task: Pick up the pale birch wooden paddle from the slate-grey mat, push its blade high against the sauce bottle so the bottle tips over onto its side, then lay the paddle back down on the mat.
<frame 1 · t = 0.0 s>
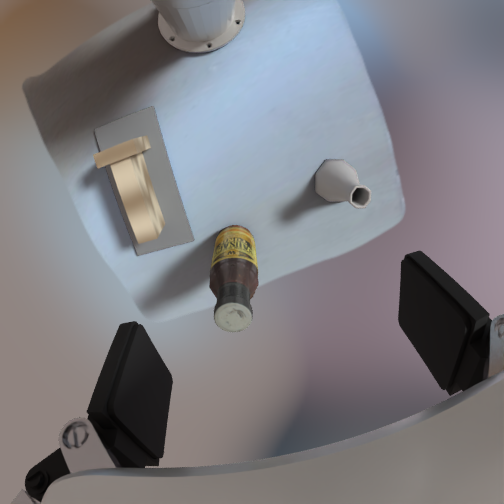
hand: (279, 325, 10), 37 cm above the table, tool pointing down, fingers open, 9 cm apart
flask: (335, 180, 45), on the table
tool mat: (143, 183, 43), on the table
sauce bottle: (233, 240, 49), on the table
wooden paddle: (142, 184, 43), point 1 cm above the table, touching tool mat
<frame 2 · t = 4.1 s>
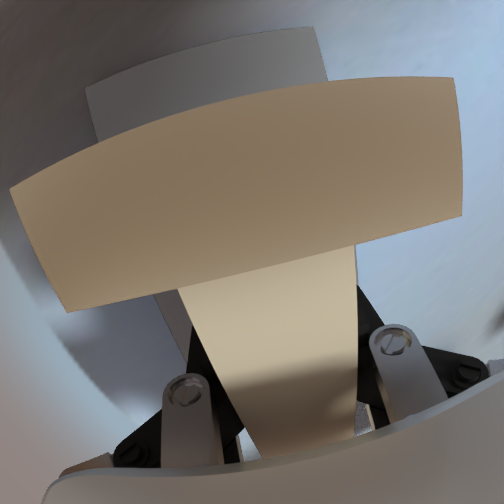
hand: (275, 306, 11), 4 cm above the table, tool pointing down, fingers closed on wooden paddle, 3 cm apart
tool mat: (256, 278, 15), on the table
wooden paddle: (270, 288, 12), point 2 cm above the table, touching gripper
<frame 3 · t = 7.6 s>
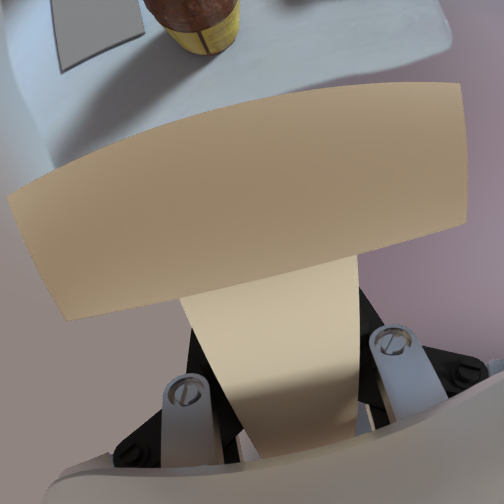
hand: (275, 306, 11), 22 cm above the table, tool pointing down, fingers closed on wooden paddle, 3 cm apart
sauce bottle: (206, 31, 24), on the table
wooden paddle: (271, 291, 12), point 21 cm above the table, touching gripper
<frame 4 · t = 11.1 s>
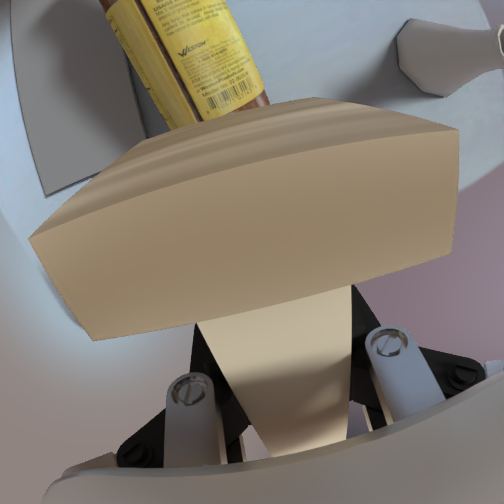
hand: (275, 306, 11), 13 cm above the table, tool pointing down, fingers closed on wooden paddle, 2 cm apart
flask: (427, 57, 18), on the table
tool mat: (64, 51, 16), on the table
sauce bottle: (226, 134, 18), point 3 cm above the table
wooden paddle: (269, 282, 13), point 11 cm above the table, tilted 6°, touching gripper
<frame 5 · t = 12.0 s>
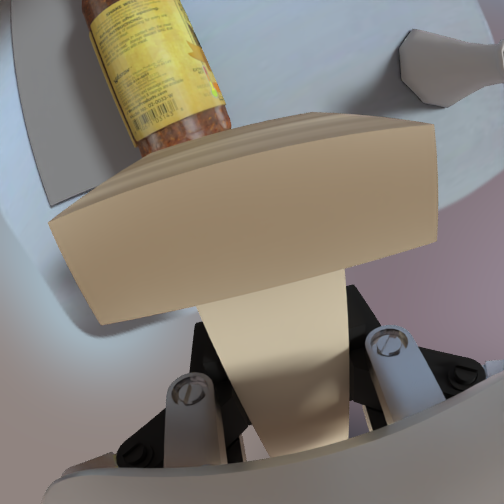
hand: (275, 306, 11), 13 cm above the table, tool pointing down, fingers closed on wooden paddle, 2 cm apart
flask: (428, 68, 19), on the table
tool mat: (67, 61, 16), on the table
sauce bottle: (189, 153, 18), point 3 cm above the table
wooden paddle: (271, 292, 13), point 11 cm above the table, touching gripper
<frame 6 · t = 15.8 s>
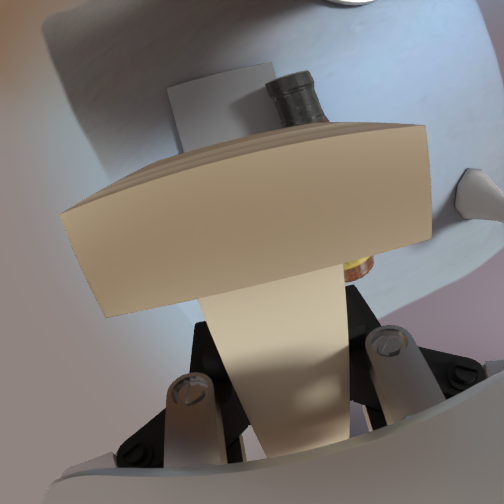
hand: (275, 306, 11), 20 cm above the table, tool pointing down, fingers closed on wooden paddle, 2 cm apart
flask: (471, 192, 31), on the table
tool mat: (246, 181, 29), on the table
sauce bottle: (346, 268, 31), point 3 cm above the table, touching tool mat
wooden paddle: (273, 300, 13), point 18 cm above the table, touching gripper
when the fingers open (3 cm above the table, at t = 18.9 s): wooden paddle drops 1 cm, resting on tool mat.
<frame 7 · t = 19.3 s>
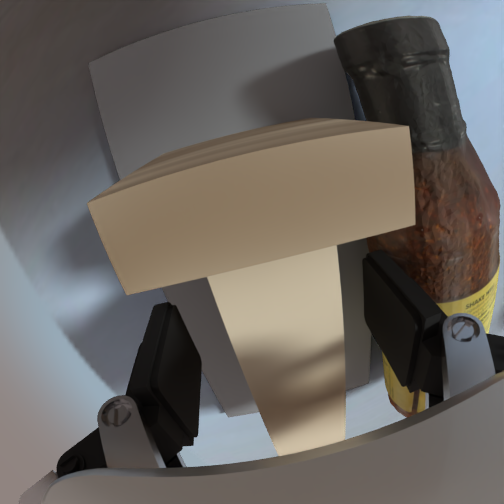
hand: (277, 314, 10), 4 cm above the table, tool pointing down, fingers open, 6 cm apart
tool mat: (265, 260, 14), on the table
sauce bottle: (426, 387, 16), point 3 cm above the table, touching gripper
wooden paddle: (273, 284, 14), point 1 cm above the table, touching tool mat
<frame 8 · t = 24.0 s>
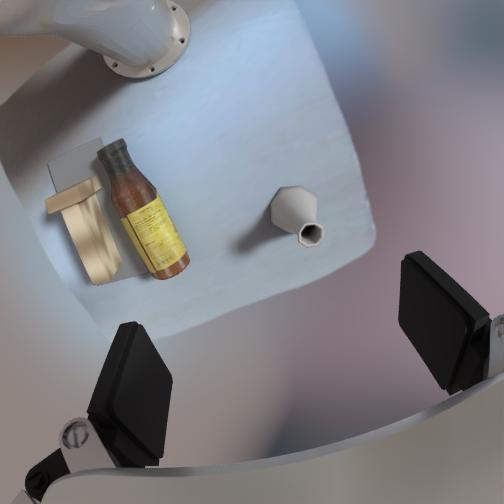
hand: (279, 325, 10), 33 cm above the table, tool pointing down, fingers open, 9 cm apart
flask: (293, 208, 43), on the table
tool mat: (96, 216, 41), on the table
sauce bottle: (172, 271, 43), point 3 cm above the table
wooden paddle: (97, 223, 41), point 1 cm above the table, touching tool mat
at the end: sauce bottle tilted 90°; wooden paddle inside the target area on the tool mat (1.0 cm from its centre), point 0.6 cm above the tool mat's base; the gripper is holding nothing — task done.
